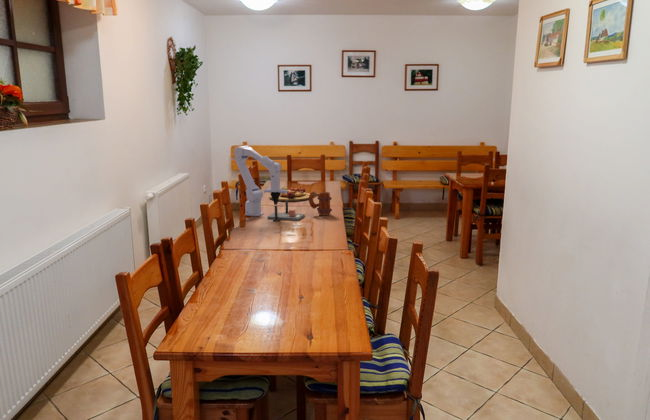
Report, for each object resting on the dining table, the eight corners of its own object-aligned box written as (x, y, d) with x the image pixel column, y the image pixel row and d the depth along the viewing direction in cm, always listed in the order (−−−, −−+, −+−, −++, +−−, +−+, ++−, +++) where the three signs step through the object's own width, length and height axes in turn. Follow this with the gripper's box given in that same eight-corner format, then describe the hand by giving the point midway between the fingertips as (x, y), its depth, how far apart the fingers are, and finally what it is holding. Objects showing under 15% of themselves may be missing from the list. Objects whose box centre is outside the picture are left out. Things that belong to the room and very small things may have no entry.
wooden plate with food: (306, 203, 359) (306, 191, 358) (263, 201, 366) (263, 189, 364) (317, 195, 390) (317, 185, 388) (277, 194, 397) (276, 183, 395)
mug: (332, 213, 324) (332, 190, 321) (331, 216, 316) (331, 192, 313) (309, 213, 326) (309, 190, 322) (308, 216, 318) (307, 192, 314)
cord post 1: (271, 221, 305) (271, 206, 303) (274, 219, 309) (274, 205, 307) (278, 221, 304) (277, 206, 302) (280, 220, 307) (280, 205, 306)
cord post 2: (282, 214, 322) (282, 200, 320) (285, 213, 325) (284, 199, 323) (288, 215, 321) (288, 201, 319) (291, 213, 324) (290, 199, 322)
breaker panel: (267, 218, 311) (267, 216, 311) (274, 214, 322) (274, 212, 322) (298, 220, 305) (298, 218, 305) (304, 216, 317) (304, 214, 316)
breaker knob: (289, 215, 311) (288, 210, 311) (290, 214, 314) (290, 209, 313) (293, 216, 310) (293, 210, 310) (295, 215, 313) (295, 209, 313)
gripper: (261, 183, 309) (262, 205, 312) (284, 184, 305) (284, 206, 308) (266, 181, 316) (266, 202, 319) (288, 182, 312) (288, 204, 315)
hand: (275, 204), depth 314 cm, fingers closed
